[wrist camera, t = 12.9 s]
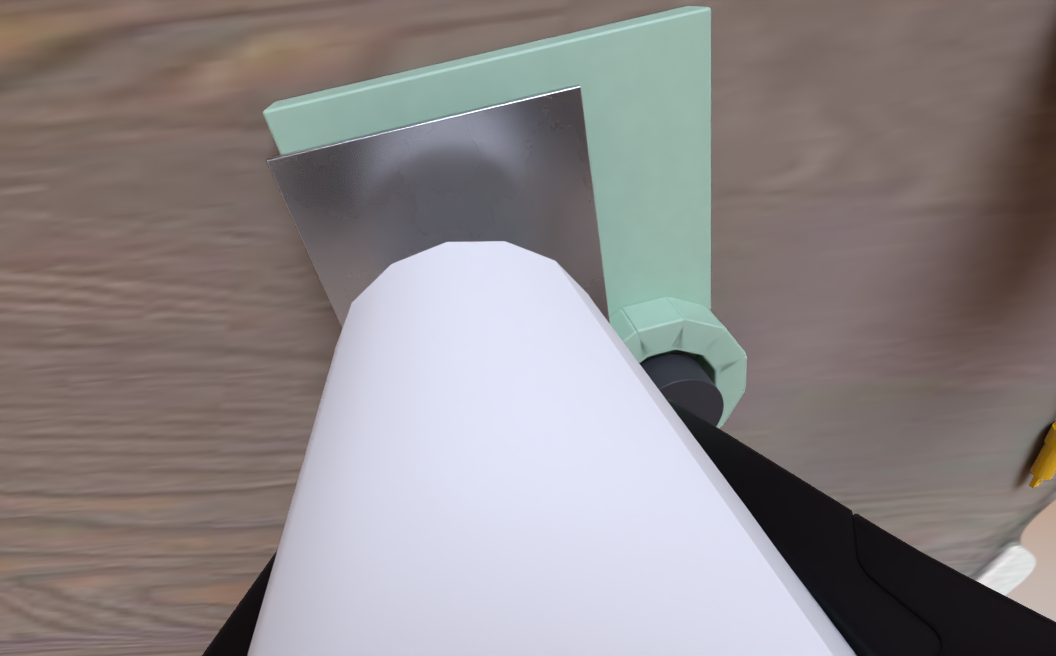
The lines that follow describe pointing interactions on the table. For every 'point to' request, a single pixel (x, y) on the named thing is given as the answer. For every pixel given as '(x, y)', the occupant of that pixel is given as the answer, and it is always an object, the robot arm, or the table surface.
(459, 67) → the scale
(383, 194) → the plate
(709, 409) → the button
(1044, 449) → the purple and yellow rod
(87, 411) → the table surface
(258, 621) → the white cup
